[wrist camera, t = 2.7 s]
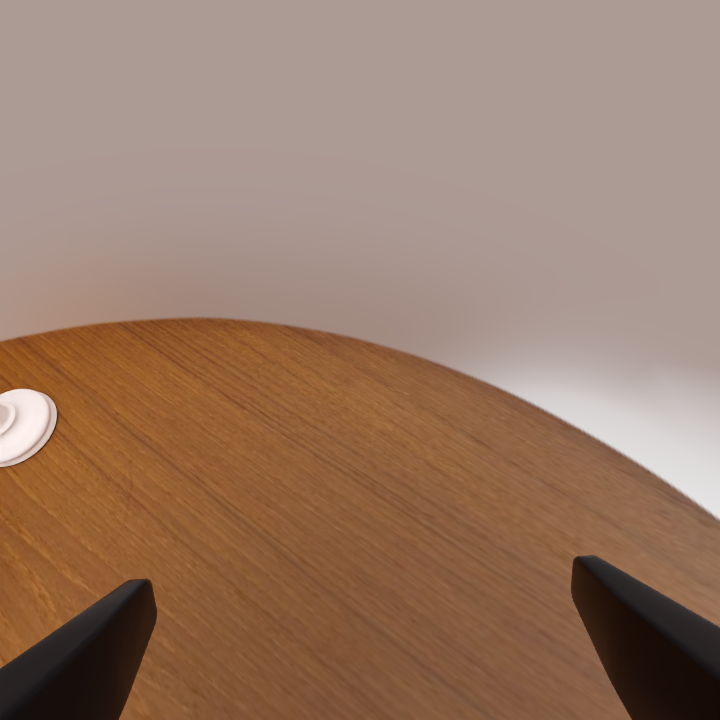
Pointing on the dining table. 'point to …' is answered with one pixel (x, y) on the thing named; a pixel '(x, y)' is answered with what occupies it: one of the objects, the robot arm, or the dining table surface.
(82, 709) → the robot arm
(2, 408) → the chess piece
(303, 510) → the dining table surface
